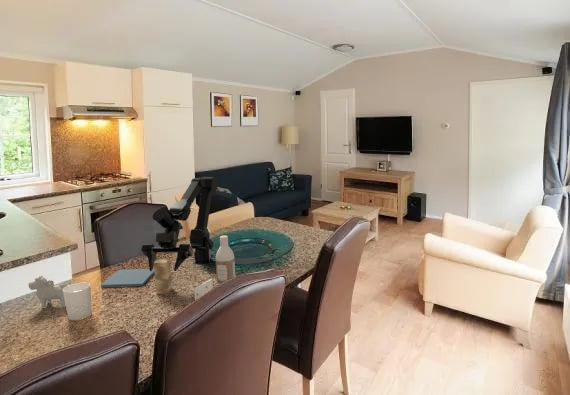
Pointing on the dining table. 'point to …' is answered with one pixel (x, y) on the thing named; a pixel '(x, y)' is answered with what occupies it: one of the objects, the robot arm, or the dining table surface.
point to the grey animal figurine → (47, 290)
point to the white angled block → (203, 288)
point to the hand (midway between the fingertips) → (162, 270)
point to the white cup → (78, 300)
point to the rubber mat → (128, 278)
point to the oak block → (162, 275)
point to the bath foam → (224, 261)
